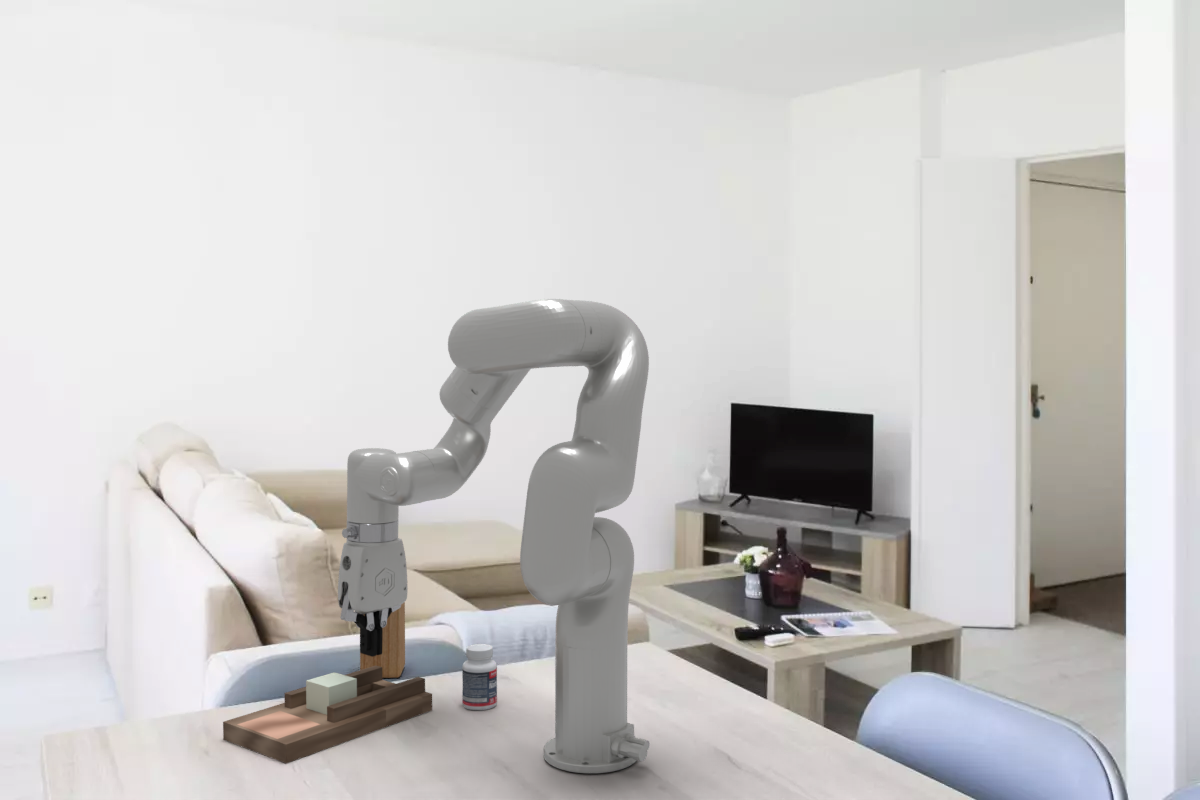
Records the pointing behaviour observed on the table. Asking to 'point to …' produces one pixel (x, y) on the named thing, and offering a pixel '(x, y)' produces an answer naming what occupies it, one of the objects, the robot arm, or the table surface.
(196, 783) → the table surface
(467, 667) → the pill bottle
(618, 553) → the robot arm
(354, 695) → the sage block
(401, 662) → the decorative item
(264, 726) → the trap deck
